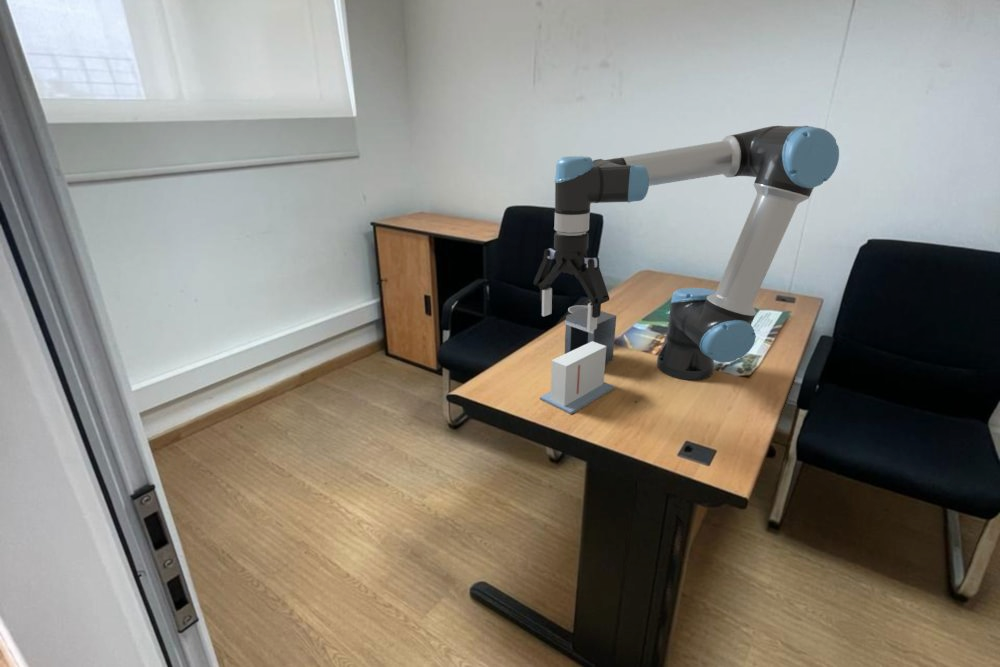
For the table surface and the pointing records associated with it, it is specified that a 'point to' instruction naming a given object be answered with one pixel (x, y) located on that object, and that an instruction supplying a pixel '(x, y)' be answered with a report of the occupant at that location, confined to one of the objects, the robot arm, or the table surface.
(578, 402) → the mat
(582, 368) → the white block
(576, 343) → the dispenser
